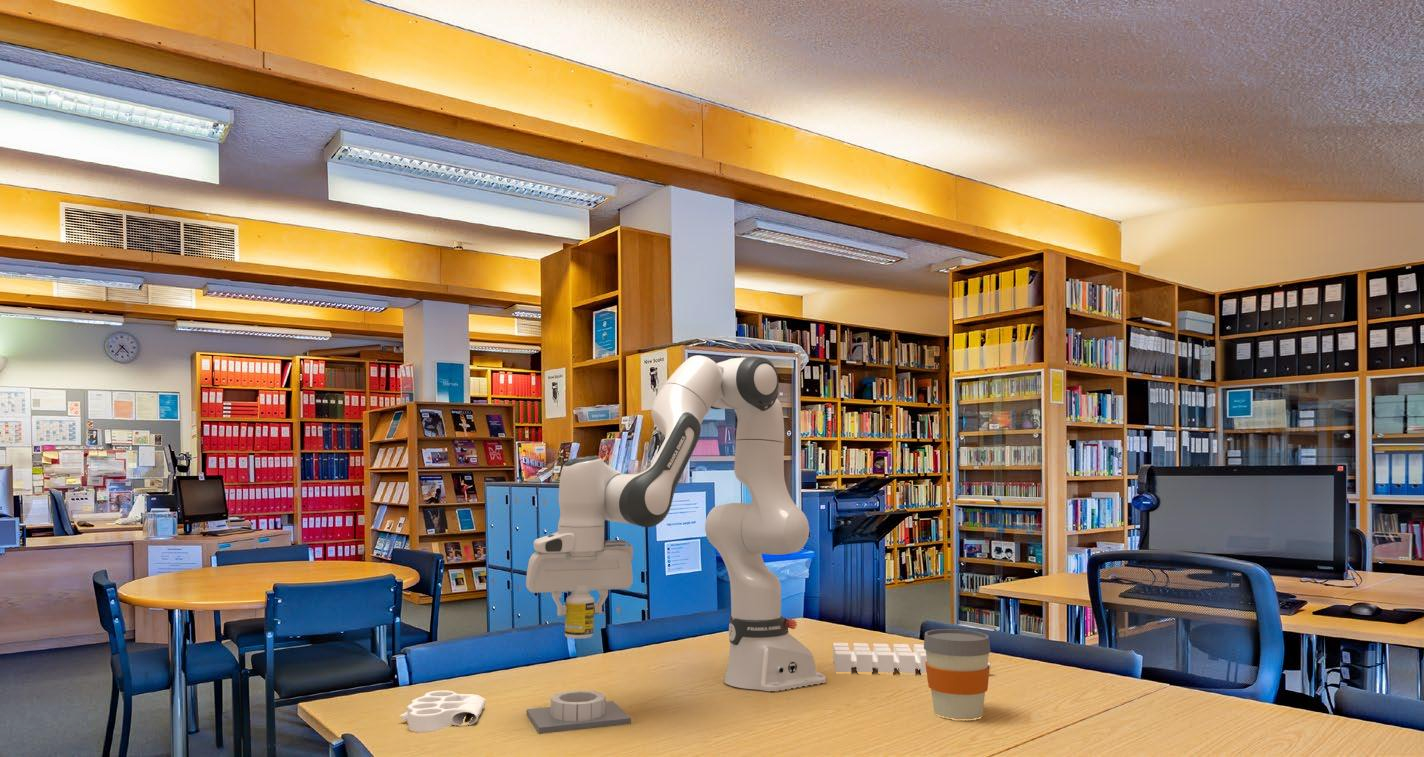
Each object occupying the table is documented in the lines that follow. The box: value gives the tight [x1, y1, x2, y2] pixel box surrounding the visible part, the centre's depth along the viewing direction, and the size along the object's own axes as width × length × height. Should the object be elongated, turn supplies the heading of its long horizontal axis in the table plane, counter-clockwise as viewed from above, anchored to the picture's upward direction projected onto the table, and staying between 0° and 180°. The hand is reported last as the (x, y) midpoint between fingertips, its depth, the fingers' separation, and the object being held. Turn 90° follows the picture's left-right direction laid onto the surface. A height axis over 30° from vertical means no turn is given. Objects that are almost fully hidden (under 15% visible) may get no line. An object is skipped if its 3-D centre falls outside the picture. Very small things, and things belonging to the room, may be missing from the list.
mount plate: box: [526, 689, 632, 734], centre depth 170 cm, size 17×13×4 cm
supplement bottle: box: [564, 585, 595, 640], centre depth 171 cm, size 5×5×10 cm
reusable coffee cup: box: [923, 628, 992, 719], centre depth 174 cm, size 13×12×15 cm
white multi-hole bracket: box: [398, 690, 486, 733], centre depth 170 cm, size 3×18×15 cm
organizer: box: [832, 642, 992, 674], centre depth 211 cm, size 13×5×35 cm
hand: (579, 614), depth 171 cm, fingers closed on supplement bottle, 5 cm apart
